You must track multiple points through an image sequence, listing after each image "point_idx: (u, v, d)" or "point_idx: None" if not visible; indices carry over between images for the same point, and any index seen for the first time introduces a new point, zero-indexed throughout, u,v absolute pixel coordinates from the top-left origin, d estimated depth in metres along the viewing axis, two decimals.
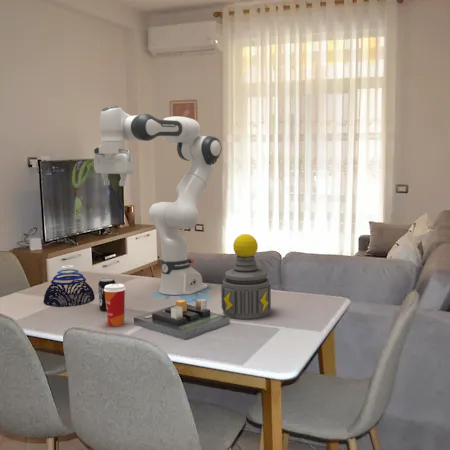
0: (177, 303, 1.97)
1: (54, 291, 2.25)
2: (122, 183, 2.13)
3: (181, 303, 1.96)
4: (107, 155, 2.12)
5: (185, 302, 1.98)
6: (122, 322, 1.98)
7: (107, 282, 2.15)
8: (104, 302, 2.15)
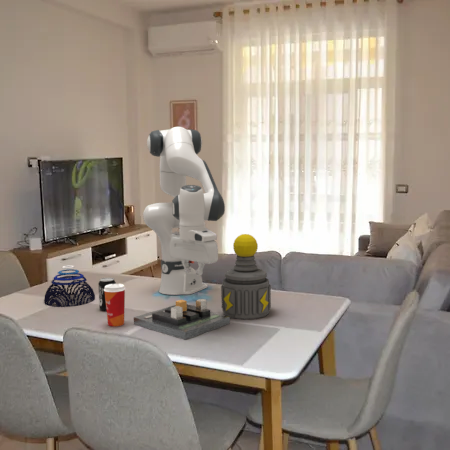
0: (177, 303, 1.97)
1: (54, 291, 2.25)
2: None
3: (181, 303, 1.96)
4: None
5: (185, 302, 1.98)
6: (122, 322, 1.98)
7: (107, 282, 2.15)
8: (104, 302, 2.15)
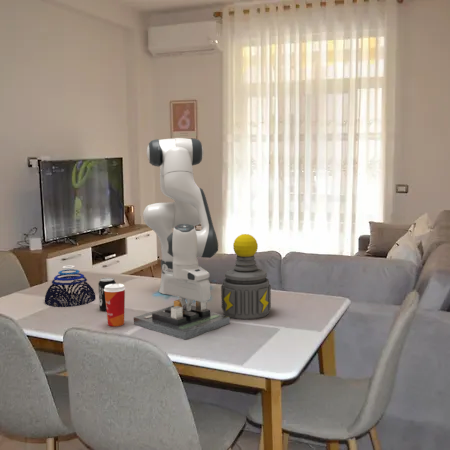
0: (175, 303, 1.98)
1: (55, 291, 2.25)
2: None
3: (179, 303, 1.97)
4: None
5: None
6: (122, 322, 1.98)
7: (107, 282, 2.15)
8: (104, 302, 2.15)
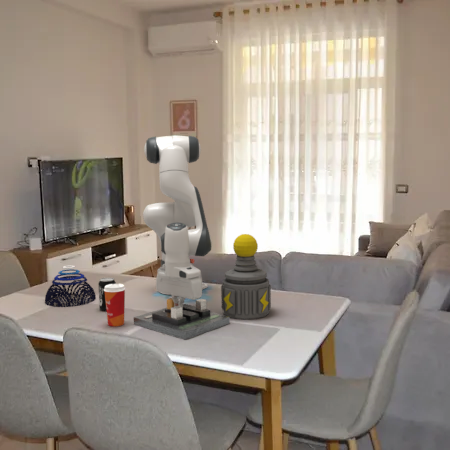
0: (168, 301, 2.00)
1: (55, 291, 2.25)
2: None
3: (172, 301, 1.99)
4: None
5: None
6: (122, 322, 1.98)
7: (107, 282, 2.15)
8: (104, 302, 2.15)
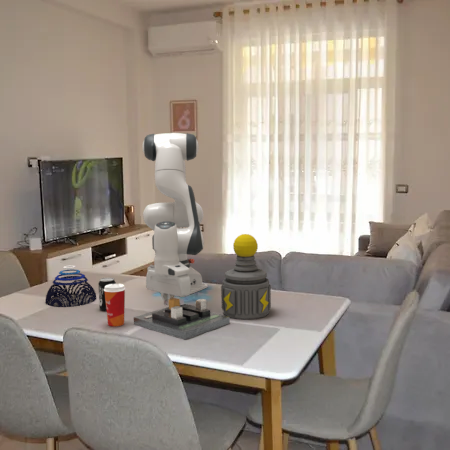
0: (170, 301, 1.99)
1: (56, 291, 2.25)
2: None
3: (174, 301, 1.99)
4: None
5: (178, 300, 2.00)
6: (122, 322, 1.98)
7: (107, 282, 2.15)
8: (104, 302, 2.15)
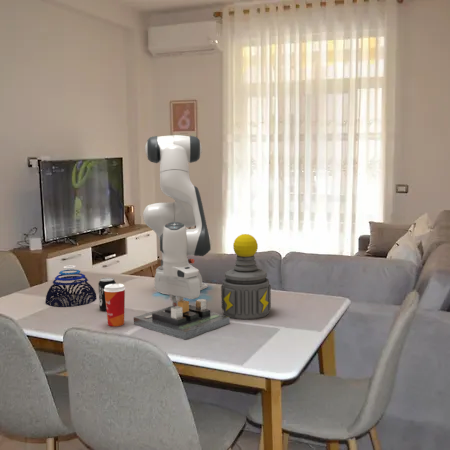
0: (179, 304, 1.96)
1: (56, 291, 2.25)
2: None
3: (183, 304, 1.96)
4: None
5: (187, 303, 1.97)
6: (122, 322, 1.98)
7: (107, 282, 2.15)
8: (104, 302, 2.15)
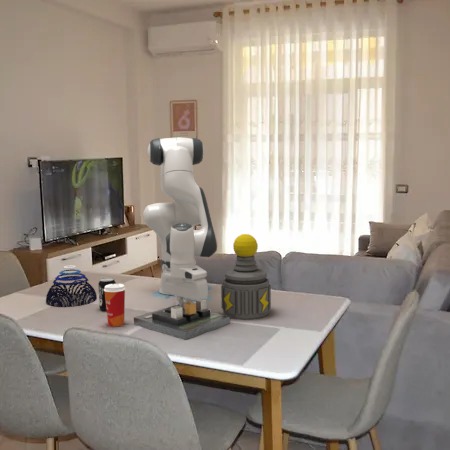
0: (186, 305, 1.94)
1: (56, 291, 2.25)
2: None
3: (190, 305, 1.93)
4: None
5: (194, 304, 1.95)
6: (122, 322, 1.98)
7: (107, 282, 2.15)
8: (104, 302, 2.15)
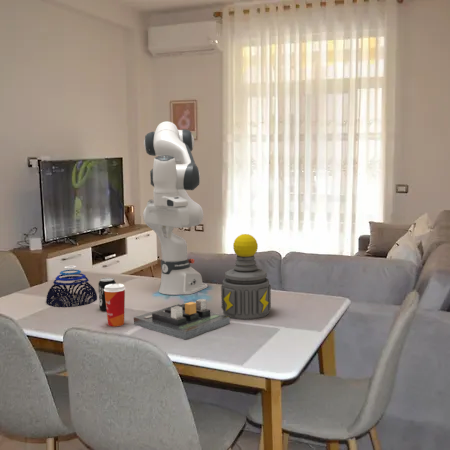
0: (186, 305, 1.94)
1: (57, 291, 2.25)
2: None
3: (190, 305, 1.93)
4: None
5: (194, 304, 1.95)
6: (122, 322, 1.98)
7: (107, 282, 2.15)
8: (104, 302, 2.15)
